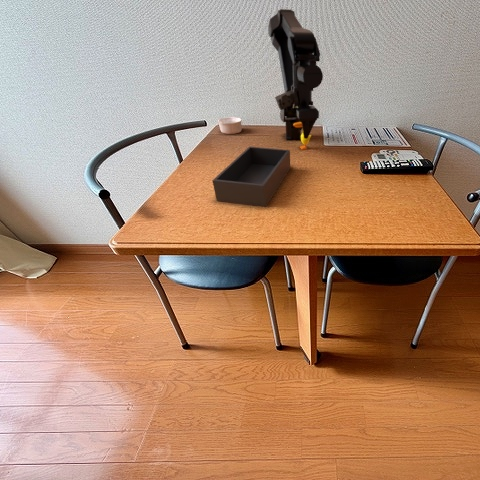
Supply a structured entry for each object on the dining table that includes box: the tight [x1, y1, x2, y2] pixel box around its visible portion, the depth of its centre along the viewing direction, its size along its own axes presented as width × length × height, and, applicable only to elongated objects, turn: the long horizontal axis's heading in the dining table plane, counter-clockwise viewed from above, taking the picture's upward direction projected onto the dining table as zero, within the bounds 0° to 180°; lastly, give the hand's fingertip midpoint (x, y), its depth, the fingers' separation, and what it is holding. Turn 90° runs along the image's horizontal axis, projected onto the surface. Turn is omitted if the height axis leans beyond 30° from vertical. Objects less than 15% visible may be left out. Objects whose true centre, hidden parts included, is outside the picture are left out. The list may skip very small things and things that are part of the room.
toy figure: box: [293, 122, 312, 150], centre depth 97 cm, size 7×4×12 cm, turn 117°
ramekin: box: [217, 116, 243, 135], centre depth 112 cm, size 9×9×4 cm
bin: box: [212, 146, 291, 208], centre depth 76 cm, size 23×12×6 cm, turn 170°
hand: (302, 134), depth 97 cm, fingers open, 9 cm apart
